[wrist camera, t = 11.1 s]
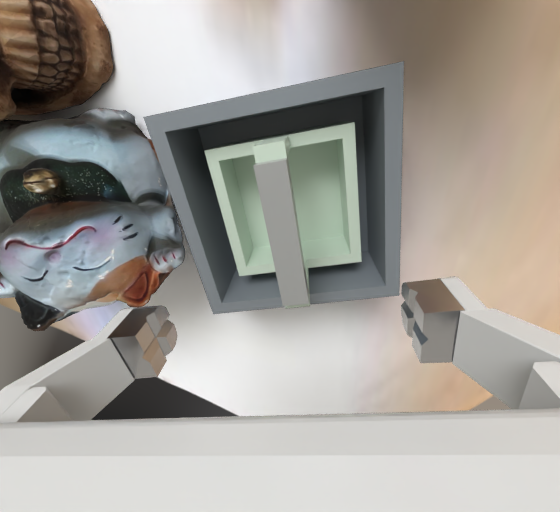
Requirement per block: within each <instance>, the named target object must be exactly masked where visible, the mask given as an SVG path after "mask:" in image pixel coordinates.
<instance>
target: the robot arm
mask: <svg viewBox="0 0 560 512" xmlns="http://www.w3.org/2000/svg"><path fill="white" fill-rule="evenodd" d="M402 296H403V297H404V299H405V301H404V303H403V304H402V305H401V315H402V322H403V325H404V328H405V331H406V333H407V335H409V336H410V337H412V346H413V348H414V351H415V353H416V355H417V357H418V359H419V361H420V363H441V362H453V363H452V364H454V365H455V366H456V367H457V368H459V369H460V370H461V371H463V372H464V373H465V374H467V375H468V376H469V377H470V378H472V379H473V380H474V381H476V382H477V383H478V384H480V385H481V386H482V387H483V388H485V389H486V390H487V391H489V392H490V393H491V394H493V395H494V396H495V397H497V398H498V399H499V400H500V401H502V402H503V403H504V404H506V405H507V406H508V407H510V408H511V409H509V410H470V411H432V412H394V413H355V414H316V415H277V416H239V417H202V418H166V419H165V418H163V419H127V420H126V419H125V420H91V419H92V418H93V417H94V416H95V415H96V414H97V413H98V412H100V411H101V410H102V409H103V408H104V407H105V406H106V405H107V404H108V403H110V402H111V401H112V400H113V399H114V398H115V397H116V396H117V395H118V394H119V393H121V392H122V391H123V390H124V389H125V388H126V387H127V386H128V385H129V384H131V383H132V382H133V381H134V379H137V378H149V377H158V375H159V373H160V372H161V370H162V368H163V366H164V365H165V363H166V361H167V360H166V355H167V354H169V353H170V352H171V351H172V350H173V348H174V347H175V345H176V340H177V332H176V328H175V326H174V324H173V323H171V322H170V321H169V320H168V318H169V313H168V311H167V309H166V307H164V306H149V307H137V308H126V309H122V310H120V311H119V312H118V313H117V314H116V315H115V316H114V317H113V318H112V319H111V320H110V321H109V323H108V324H107V325H106V326H105V327H104V328H103V329H102V330H101V331H100V332H99V333H98V334H97V335H96V336H95V337H94V338H93V339H92V340H87V341H86V342H84V343H82V344H81V345H79V346H77V347H75V348H73V349H72V350H70V351H68V352H66V353H64V354H63V355H61V356H60V357H58V358H56V359H54V360H52V361H50V362H49V363H47V364H46V365H43V366H41V367H40V368H38V369H36V370H34V371H33V372H31V373H29V374H27V375H26V376H24V377H22V378H20V379H19V380H17V381H15V382H13V383H11V384H10V385H8V386H6V387H5V388H3V389H2V390H1V391H0V512H560V335H558V334H556V333H553V332H551V331H548V330H546V329H543V328H541V327H539V326H536V325H534V324H531V323H529V322H526V321H524V320H521V319H519V318H516V317H514V316H511V315H509V314H507V313H504V312H502V311H499V310H497V309H494V308H493V309H488V308H487V307H486V306H485V305H484V304H483V303H482V302H481V301H480V300H479V299H478V298H477V297H476V296H475V295H474V294H473V292H472V291H471V290H470V289H469V288H468V287H467V286H466V285H465V284H464V283H463V282H462V281H461V280H460V279H459V278H458V277H455V276H454V277H446V278H438V279H432V280H423V281H414V282H405V283H403V285H402Z"/></svg>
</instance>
